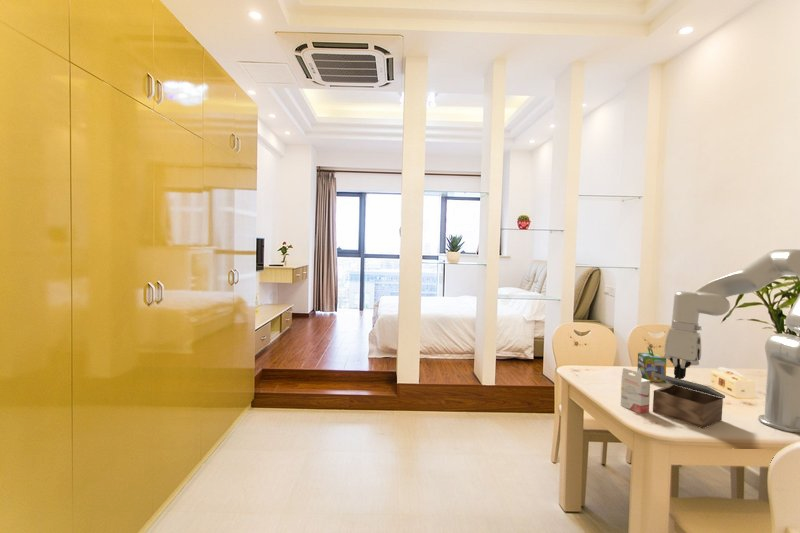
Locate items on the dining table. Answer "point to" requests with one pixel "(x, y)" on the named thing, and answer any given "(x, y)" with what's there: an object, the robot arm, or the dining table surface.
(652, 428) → the dining table surface
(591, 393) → the dining table surface
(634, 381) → the ink cartridge box
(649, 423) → the dining table surface
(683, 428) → the dining table surface
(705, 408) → the box
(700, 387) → the lid
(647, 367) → the chalk box
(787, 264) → the robot arm
